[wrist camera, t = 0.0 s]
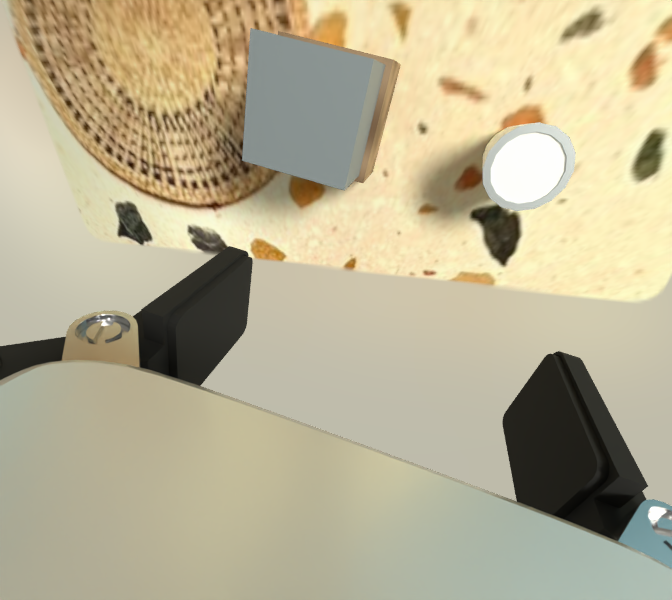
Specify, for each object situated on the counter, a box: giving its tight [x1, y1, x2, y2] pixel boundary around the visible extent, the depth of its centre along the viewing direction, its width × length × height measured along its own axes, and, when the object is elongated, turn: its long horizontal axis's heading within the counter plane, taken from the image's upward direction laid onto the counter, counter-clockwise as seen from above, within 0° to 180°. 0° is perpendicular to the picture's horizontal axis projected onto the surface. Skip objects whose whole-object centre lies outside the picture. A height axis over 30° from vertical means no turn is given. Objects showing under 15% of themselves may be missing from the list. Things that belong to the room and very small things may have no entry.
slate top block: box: [242, 28, 385, 190], centre depth 29 cm, size 9×9×6 cm
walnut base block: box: [278, 31, 400, 183], centre depth 34 cm, size 10×10×6 cm
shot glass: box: [483, 123, 575, 211], centre depth 32 cm, size 7×7×7 cm
